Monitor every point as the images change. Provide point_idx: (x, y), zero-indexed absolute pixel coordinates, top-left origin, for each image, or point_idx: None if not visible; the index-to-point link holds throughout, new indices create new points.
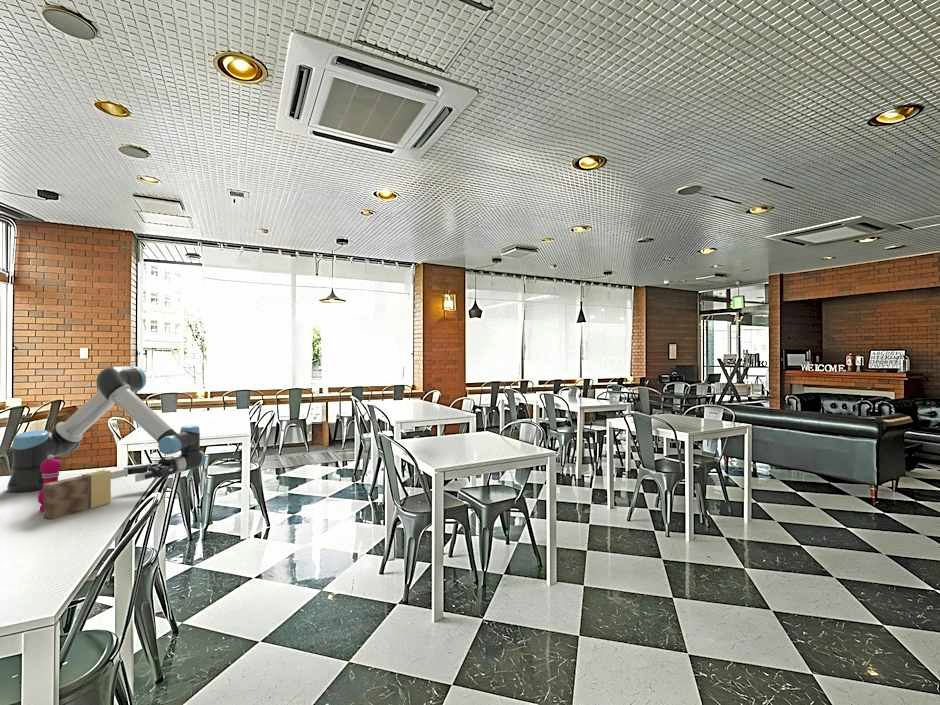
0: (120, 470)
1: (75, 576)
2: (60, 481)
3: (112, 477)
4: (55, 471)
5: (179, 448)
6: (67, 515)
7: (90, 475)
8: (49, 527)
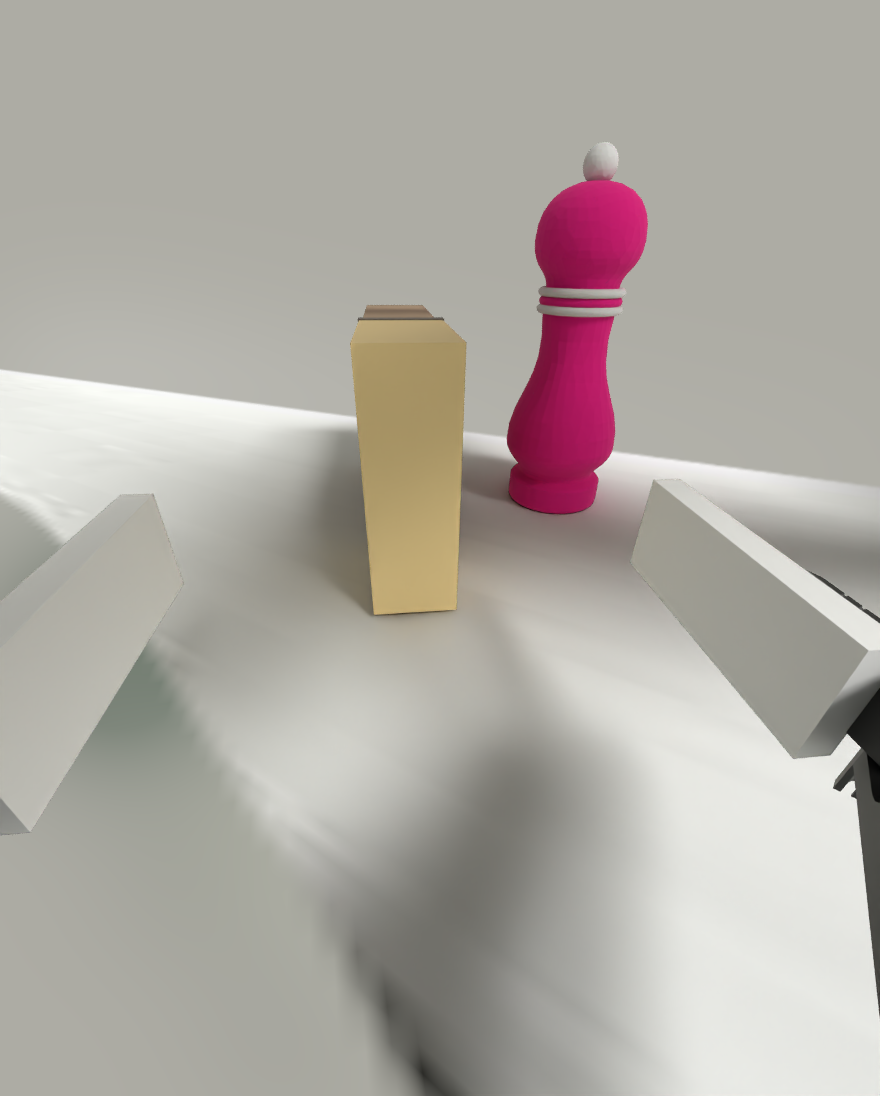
0: (736, 545)
1: None
2: (398, 310)
3: (640, 548)
4: (548, 276)
5: None
6: None
7: (358, 319)
8: (297, 445)
